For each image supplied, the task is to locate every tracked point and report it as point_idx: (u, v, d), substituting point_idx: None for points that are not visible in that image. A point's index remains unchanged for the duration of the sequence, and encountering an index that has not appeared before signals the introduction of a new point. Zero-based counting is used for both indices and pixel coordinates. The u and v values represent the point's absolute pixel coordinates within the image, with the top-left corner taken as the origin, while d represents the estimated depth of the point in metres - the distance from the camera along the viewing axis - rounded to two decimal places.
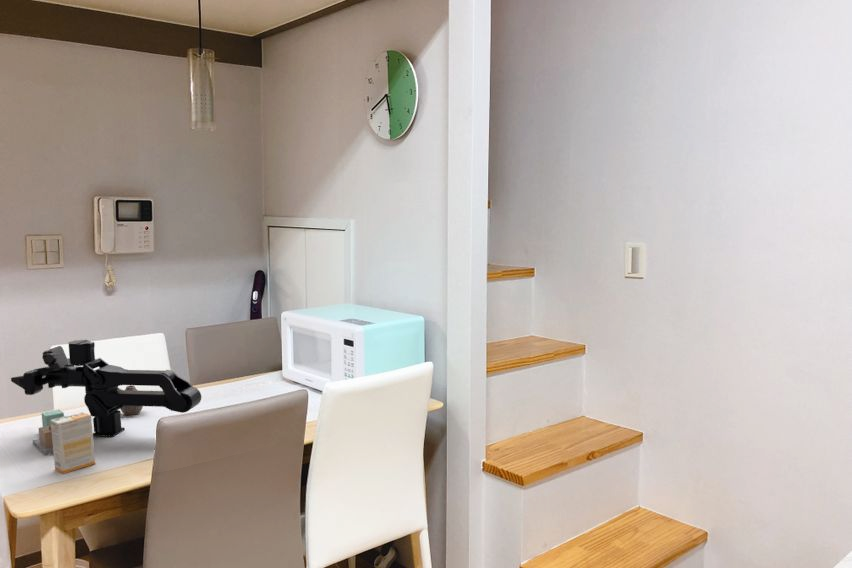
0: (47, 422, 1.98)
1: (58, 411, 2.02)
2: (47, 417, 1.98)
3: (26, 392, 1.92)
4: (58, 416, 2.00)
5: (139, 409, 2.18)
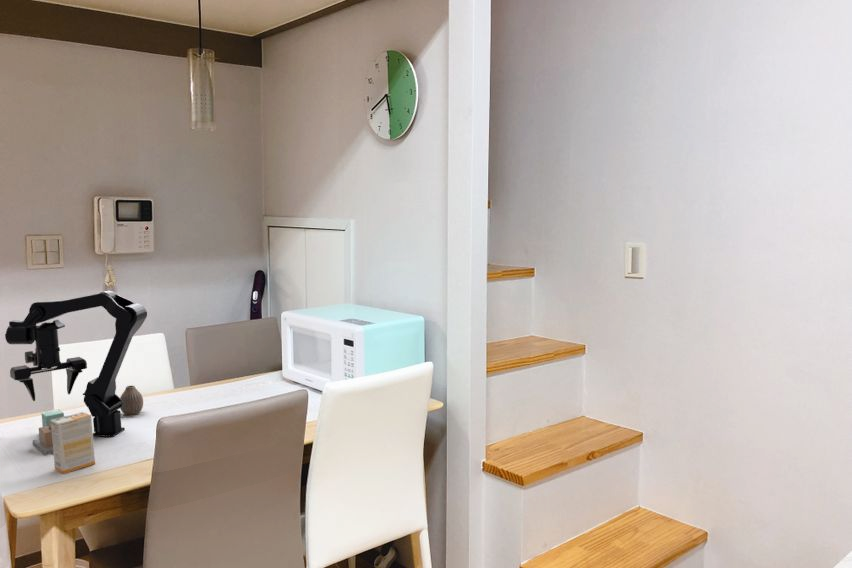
0: (47, 422, 1.98)
1: (58, 411, 2.02)
2: (47, 417, 1.98)
3: (14, 378, 1.92)
4: (58, 416, 2.00)
5: (139, 409, 2.18)
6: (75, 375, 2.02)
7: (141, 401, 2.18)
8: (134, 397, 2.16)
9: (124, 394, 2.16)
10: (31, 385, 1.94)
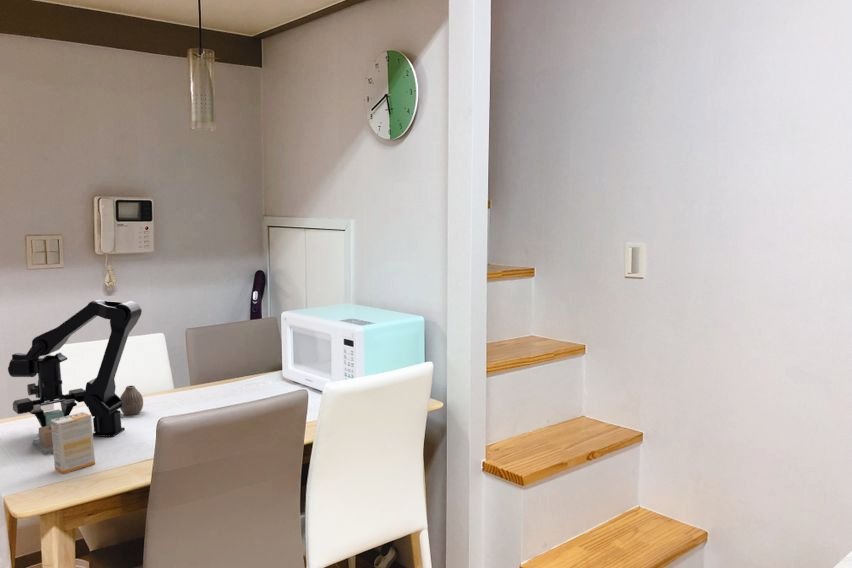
0: (47, 422, 1.98)
1: (58, 411, 2.02)
2: (47, 417, 1.98)
3: (17, 411, 1.93)
4: (58, 416, 2.00)
5: (139, 409, 2.18)
6: (69, 409, 2.02)
7: (141, 401, 2.18)
8: (134, 397, 2.16)
9: (124, 394, 2.16)
10: (42, 416, 1.97)
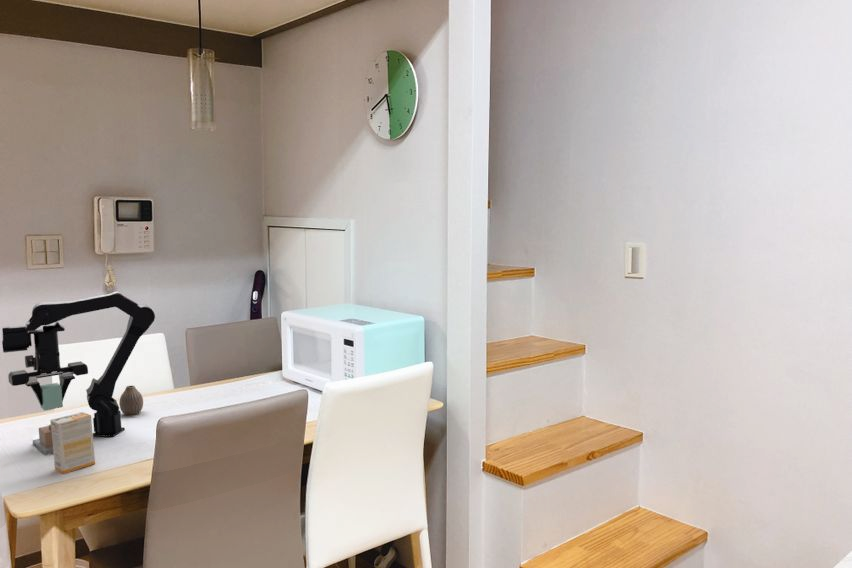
0: (44, 395, 1.90)
1: (56, 384, 1.94)
2: (44, 390, 1.90)
3: (12, 383, 1.84)
4: (55, 389, 1.91)
5: (139, 409, 2.18)
6: (67, 382, 1.93)
7: (141, 401, 2.18)
8: (134, 397, 2.16)
9: (124, 394, 2.16)
10: (38, 389, 1.89)
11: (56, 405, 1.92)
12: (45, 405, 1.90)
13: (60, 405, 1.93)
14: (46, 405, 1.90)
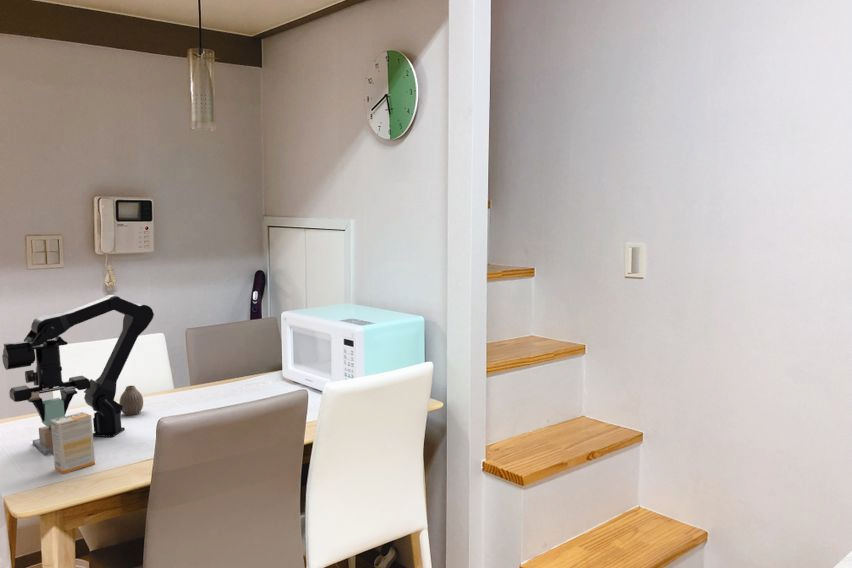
0: (46, 411, 1.87)
1: (57, 399, 1.91)
2: (46, 405, 1.87)
3: (14, 399, 1.82)
4: (57, 404, 1.89)
5: (139, 409, 2.18)
6: (69, 397, 1.90)
7: (141, 401, 2.18)
8: (134, 397, 2.16)
9: (124, 394, 2.16)
10: (40, 405, 1.86)
11: None
12: (47, 421, 1.87)
13: None
14: (48, 421, 1.88)
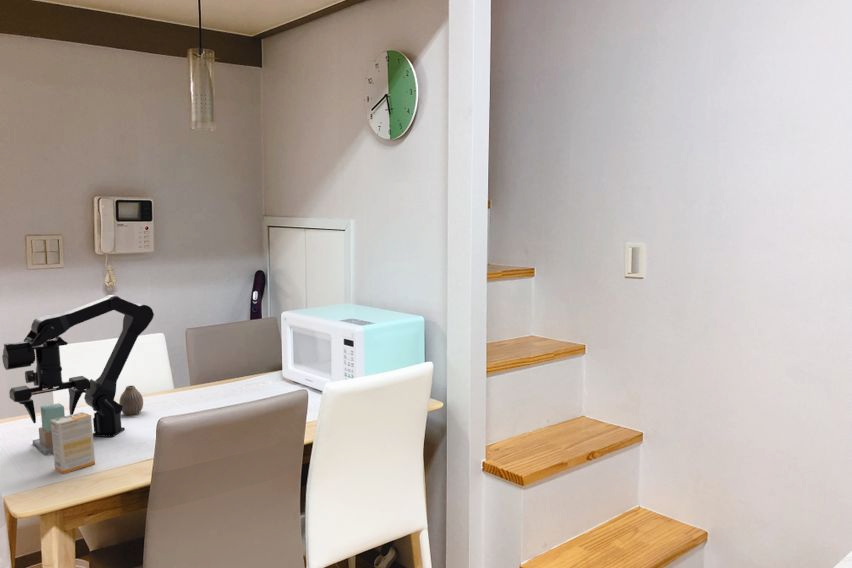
0: (46, 416, 1.87)
1: (58, 405, 1.91)
2: (46, 411, 1.87)
3: (14, 399, 1.82)
4: (58, 410, 1.89)
5: (139, 409, 2.18)
6: (77, 395, 1.92)
7: (141, 401, 2.18)
8: (134, 397, 2.16)
9: (124, 394, 2.16)
10: (31, 407, 1.84)
11: None
12: (48, 426, 1.88)
13: None
14: (49, 426, 1.88)
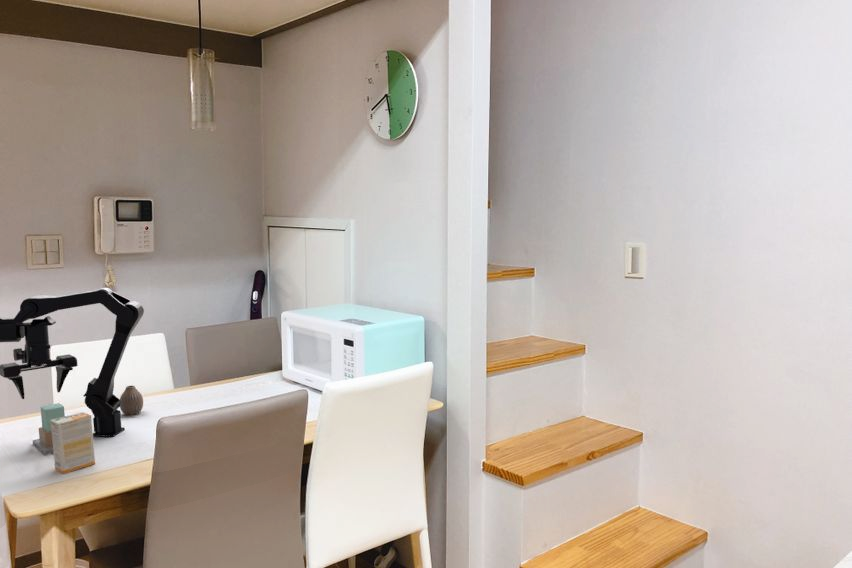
0: (46, 416, 1.87)
1: (58, 405, 1.91)
2: (46, 411, 1.87)
3: (3, 375, 1.88)
4: (58, 410, 1.89)
5: (139, 409, 2.18)
6: (65, 373, 1.98)
7: (141, 401, 2.18)
8: (134, 397, 2.16)
9: (124, 394, 2.16)
10: (20, 383, 1.91)
11: None
12: (48, 426, 1.88)
13: None
14: (49, 426, 1.88)
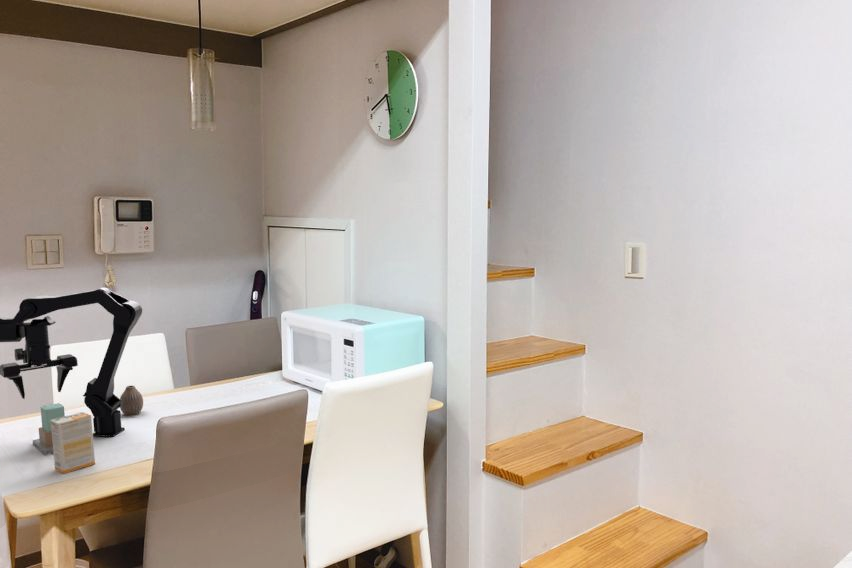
0: (46, 416, 1.87)
1: (58, 405, 1.91)
2: (46, 411, 1.87)
3: (3, 375, 1.89)
4: (58, 410, 1.89)
5: (139, 409, 2.18)
6: (65, 372, 1.99)
7: (141, 401, 2.18)
8: (134, 397, 2.16)
9: (124, 394, 2.16)
10: (20, 383, 1.92)
11: None
12: (48, 426, 1.88)
13: None
14: (49, 426, 1.88)
